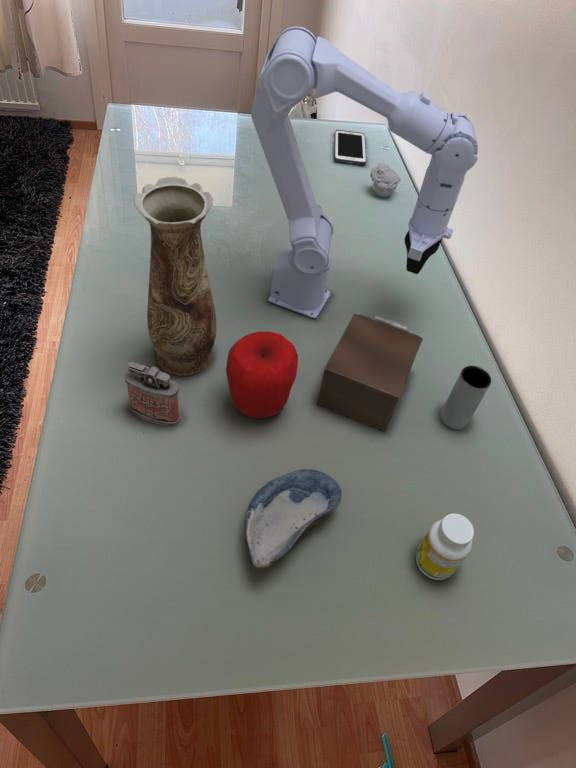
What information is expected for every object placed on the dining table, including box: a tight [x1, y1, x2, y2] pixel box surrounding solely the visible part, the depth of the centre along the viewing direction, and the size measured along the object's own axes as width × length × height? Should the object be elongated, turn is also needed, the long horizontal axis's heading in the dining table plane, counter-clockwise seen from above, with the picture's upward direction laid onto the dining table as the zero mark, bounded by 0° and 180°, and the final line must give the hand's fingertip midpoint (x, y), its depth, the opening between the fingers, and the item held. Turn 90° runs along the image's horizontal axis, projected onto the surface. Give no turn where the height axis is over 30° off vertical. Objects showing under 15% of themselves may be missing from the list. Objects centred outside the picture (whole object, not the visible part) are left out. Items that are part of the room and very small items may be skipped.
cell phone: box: [333, 129, 367, 166], centre depth 146 cm, size 8×15×1 cm, turn 177°
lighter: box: [124, 361, 181, 427], centre depth 85 cm, size 8×3×10 cm, turn 71°
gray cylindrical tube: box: [439, 365, 492, 430], centre depth 90 cm, size 4×4×10 cm
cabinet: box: [316, 312, 423, 433], centre depth 93 cm, size 14×12×9 cm
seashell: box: [245, 468, 343, 569], centre depth 77 cm, size 15×12×5 cm
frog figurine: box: [369, 162, 402, 198], centre depth 132 cm, size 6×7×7 cm
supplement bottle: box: [415, 513, 475, 581], centre depth 74 cm, size 5×5×10 cm
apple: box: [225, 331, 299, 419], centre depth 87 cm, size 10×10×14 cm
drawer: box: [358, 313, 421, 337], centre depth 95 cm, size 17×10×7 cm, turn 157°
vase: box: [133, 176, 217, 377], centre depth 85 cm, size 10×11×30 cm
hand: (413, 270), depth 101 cm, fingers closed
